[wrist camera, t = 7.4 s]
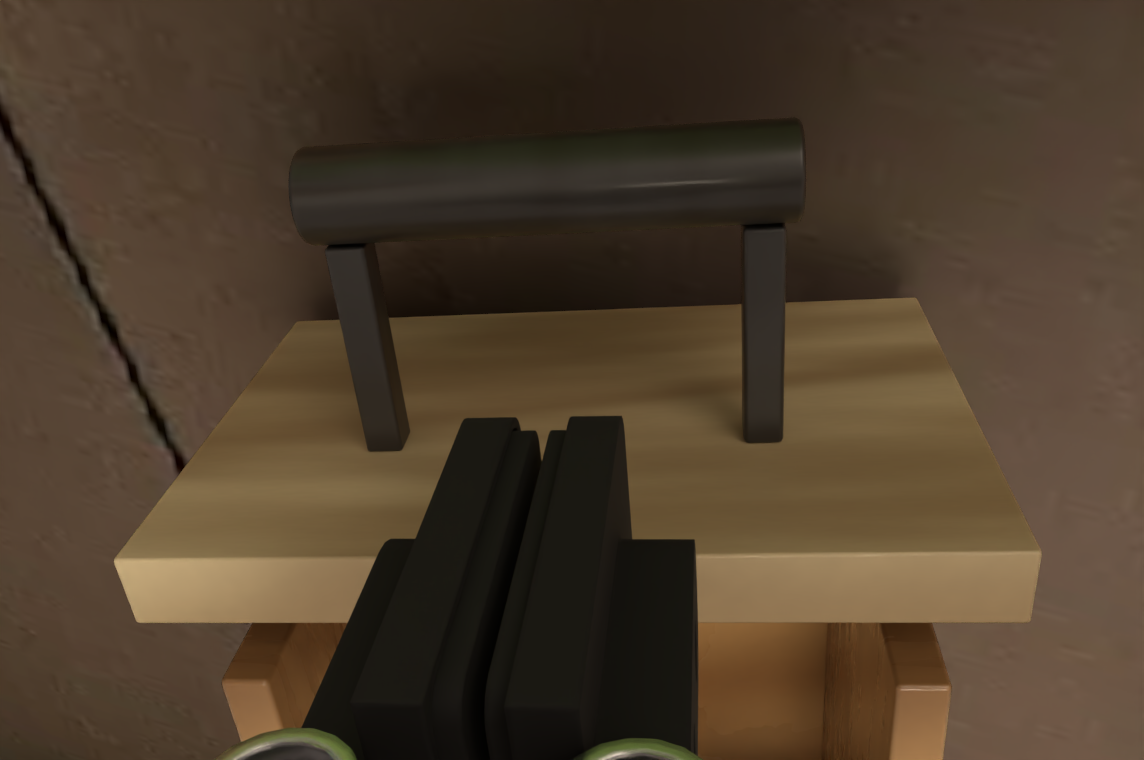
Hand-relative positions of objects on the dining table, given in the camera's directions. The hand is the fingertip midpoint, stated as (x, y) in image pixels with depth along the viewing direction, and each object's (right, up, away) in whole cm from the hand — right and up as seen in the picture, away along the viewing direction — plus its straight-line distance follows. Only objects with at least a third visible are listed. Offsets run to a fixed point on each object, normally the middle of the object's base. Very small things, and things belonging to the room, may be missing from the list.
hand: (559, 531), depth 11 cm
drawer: (+1, -1, +12) cm, 12 cm away
